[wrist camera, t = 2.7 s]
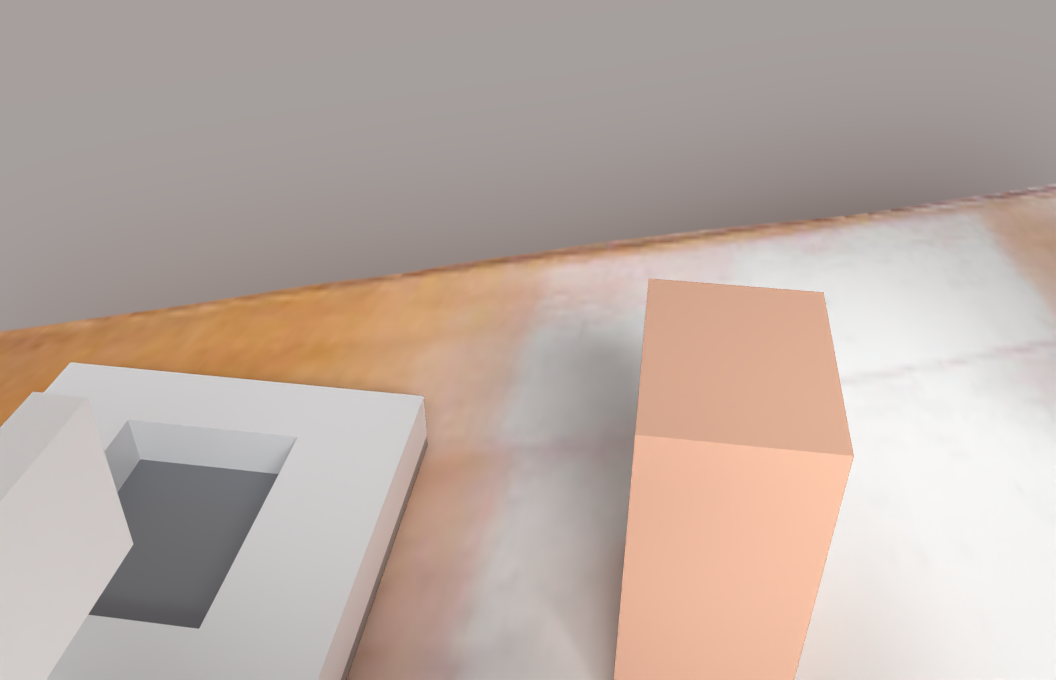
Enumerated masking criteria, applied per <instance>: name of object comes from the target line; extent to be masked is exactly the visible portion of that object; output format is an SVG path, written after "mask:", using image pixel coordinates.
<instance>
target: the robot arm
mask: <svg viewBox="0 0 1056 680" xmlns="http://www.w3.org/2000/svg"><path fill="white" fill-rule="evenodd" d="M132 546H133V541H132V538H131V535H130V531H129V528H128V525H127V522H126V519H125V516H124V512H123V509H122V506H121V503H120V500H119V497H118V493H117V490H116V487H115V484H114V481H113V477H112V474H111V471H110V468H109V465H108V462H107V458H106V455H105V452H104V449H103V446H102V443H101V439H100V436H99V433H98V430H97V427H96V424H95V420H94V417H93V414H92V411H91V408H90V404H89V401H88V398H85V397H76V396H67V395H58V394H49V393H40V392H32V393H31V394H30V395H29V397H28V398H27V399H26V400H25V401H24V402H23V403H22V404H21V405H20V406H19V407H18V409H17V410H16V411H15V412H14V413H13V414H12V415H11V416H10V417H9V418H8V419H7V420H6V422H5V423H4V424H3V425H2V426H1V427H0V680H46V679H47V677H48V676H49V674H50V673H51V671H52V670H53V668H54V667H55V665H56V664H57V662H58V660H59V659H60V657H61V656H62V654H63V653H64V651H65V650H66V648H67V646H68V645H69V643H70V642H71V640H72V639H73V637H74V636H75V634H76V633H77V631H78V629H79V628H80V626H81V625H82V623H83V622H84V620H85V619H86V617H87V616H88V614H89V612H90V611H91V609H92V608H93V606H94V605H95V603H96V602H97V600H98V598H99V597H100V595H101V594H102V592H103V591H104V589H105V588H106V586H107V585H108V583H109V581H110V580H111V578H112V577H113V575H114V574H115V572H116V571H117V569H118V568H119V566H120V564H121V563H122V561H123V560H124V558H125V557H126V555H127V554H128V552H129V550H130V549H131V547H132Z"/></svg>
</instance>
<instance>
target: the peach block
mask: <svg viewBox="0 0 1056 680" xmlns="http://www.w3.org/2000/svg"><path fill="white" fill-rule="evenodd" d="M853 457H854V455H853V449H852V444H851V439H850V433H849V428H848V422H847V417H846V412H845V406H844V401H843V395H842V390H841V384H840V379H839V374H838V368H837V363H836V357H835V352H834V347H833V341H832V336H831V330H830V325H829V319H828V314H827V309H826V303H825V298H824V292H813V291H800V290H787V289H775V288H762V287H749V286H736V285H724V284H711V283H698V282H686V281H673V280H660V279H649V282H648V293H647V305H646V316H645V327H644V339H643V350H642V362H641V373H640V384H639V396H638V407H637V418H636V430H635V441H634V453H633V464H632V476H631V487H630V499H629V510H628V521H627V533H626V544H625V556H624V567H623V579H622V590H621V602H620V613H619V625H618V636H617V648H616V659H615V670H614V680H794V679H795V675H796V672H797V668H798V664H799V660H800V657H801V653H802V649H803V645H804V641H805V638H806V634H807V630H808V626H809V623H810V619H811V615H812V611H813V608H814V604H815V600H816V596H817V593H818V589H819V585H820V581H821V577H822V574H823V570H824V566H825V562H826V559H827V555H828V551H829V547H830V544H831V540H832V536H833V532H834V529H835V525H836V521H837V517H838V514H839V510H840V506H841V502H842V498H843V495H844V491H845V487H846V483H847V480H848V476H849V472H850V468H851V465H852V461H853Z"/></svg>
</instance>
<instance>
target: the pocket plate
mask: <svg viewBox="0 0 1056 680" xmlns="http://www.w3.org/2000/svg"><path fill="white" fill-rule="evenodd" d="M44 393H49V394H58V395H67V396H76V397H85V398H88V401H89V404H90V408H91V411H92V414H93V417H94V420H95V424H96V427H97V430H98V433H99V436H100V439H101V443H102V446H103V449H104V452H105V455H106V458H107V462H108V465H109V468H110V471H111V474H112V477H113V481H114V484H115V487H116V490H117V493H118V497H119V500H120V503H121V506H122V509H123V512H124V516H125V519H126V522H127V525H128V528H129V531H130V535H131V538H132V541H133V546H132V547H131V549H130V550H129V552H128V554H127V555H126V557H125V558H124V560H123V561H122V563H121V564H120V566H119V568H118V569H117V571H116V572H115V574H114V575H113V577H112V578H111V580H110V581H109V583H108V585H107V586H106V588H105V589H104V591H103V592H102V594H101V595H100V597H99V598H98V600H97V602H96V603H95V605H94V606H93V608H92V609H91V611H90V612H89V614H88V616H87V617H86V619H85V620H84V622H83V623H82V625H81V626H80V628H79V629H78V631H77V633H76V634H75V636H74V637H73V639H72V640H71V642H70V643H69V645H68V646H67V648H66V650H65V651H64V653H63V654H62V656H61V657H60V659H59V660H58V662H57V664H56V665H55V667H54V668H53V670H52V671H51V673H50V674H49V676H48V677H47V679H46V680H346V678H347V676H348V673H349V670H350V667H351V664H352V661H353V658H354V655H355V652H356V650H357V647H358V644H359V641H360V638H361V635H362V632H363V629H364V627H365V624H366V621H367V618H368V615H369V612H370V609H371V606H372V603H373V601H374V598H375V595H376V592H377V589H378V586H379V583H380V580H381V577H382V575H383V572H384V569H385V566H386V563H387V560H388V557H389V554H390V552H391V549H392V546H393V543H394V540H395V537H396V534H397V531H398V528H399V526H400V523H401V520H402V517H403V514H404V511H405V508H406V505H407V502H408V500H409V497H410V494H411V491H412V488H413V485H414V482H415V479H416V477H417V474H418V471H419V468H420V465H421V462H422V459H423V456H424V453H425V451H426V448H427V445H428V444H427V432H426V419H425V406H424V396H417V395H406V394H396V393H385V392H375V391H365V390H354V389H344V388H333V387H323V386H312V385H302V384H291V383H281V382H270V381H260V380H250V379H239V378H229V377H218V376H208V375H197V374H187V373H176V372H166V371H156V370H145V369H135V368H124V367H114V366H103V365H93V364H82V363H72V362H70V363H69V365H68V366H67V367H66V368H65V369H64V370H63V371H62V373H61V374H60V375H59V376H58V377H57V378H56V379H55V380H54V382H53V383H52V384H51V385H50V386H49V387H48V388H47V389H46V391H45V392H44Z"/></svg>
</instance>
